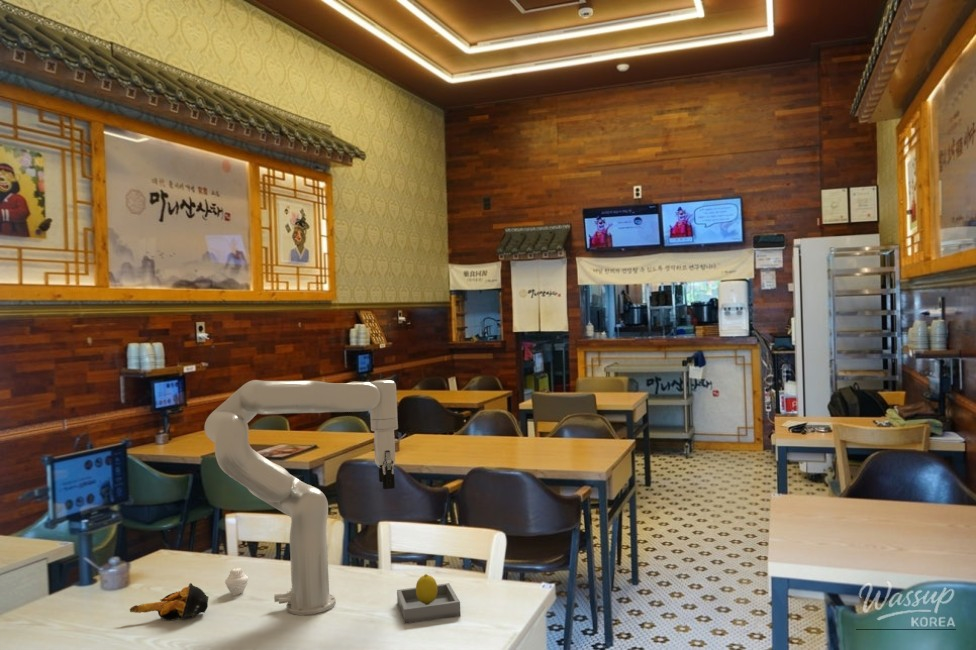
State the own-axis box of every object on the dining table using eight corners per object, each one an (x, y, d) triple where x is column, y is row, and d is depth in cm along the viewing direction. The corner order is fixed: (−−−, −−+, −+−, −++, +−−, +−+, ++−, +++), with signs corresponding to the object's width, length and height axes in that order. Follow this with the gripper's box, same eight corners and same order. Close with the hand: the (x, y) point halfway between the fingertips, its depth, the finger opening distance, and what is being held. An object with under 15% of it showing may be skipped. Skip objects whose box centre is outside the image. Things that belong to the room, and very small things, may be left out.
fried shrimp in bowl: (210, 603, 187) (135, 592, 181) (198, 636, 190) (124, 627, 184) (214, 578, 195) (142, 567, 189) (203, 611, 198) (131, 601, 192)
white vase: (252, 591, 207) (251, 567, 207) (232, 598, 202) (231, 573, 202) (241, 587, 211) (240, 562, 211) (221, 593, 206) (220, 568, 206)
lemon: (434, 610, 185) (433, 578, 185) (413, 609, 186) (412, 577, 186) (440, 601, 191) (439, 570, 191) (420, 600, 192) (419, 570, 192)
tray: (404, 623, 180) (404, 609, 180) (397, 603, 194) (396, 589, 194) (460, 615, 183) (460, 601, 183) (449, 596, 197) (449, 583, 197)
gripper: (368, 421, 214) (370, 480, 214) (373, 429, 198) (376, 492, 198) (393, 419, 216) (396, 477, 216) (401, 427, 199) (404, 490, 200)
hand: (386, 484), depth 207 cm, fingers open, 9 cm apart
